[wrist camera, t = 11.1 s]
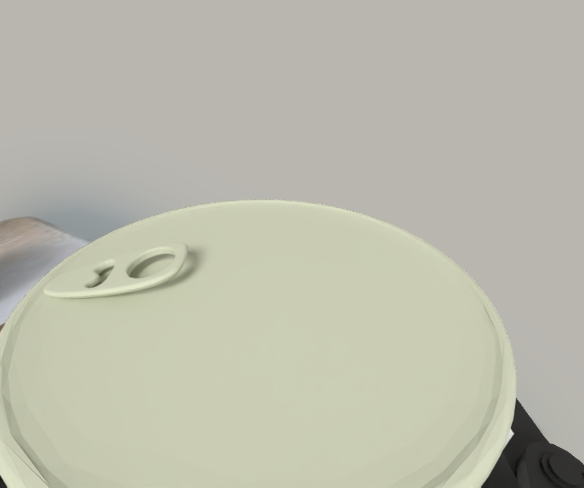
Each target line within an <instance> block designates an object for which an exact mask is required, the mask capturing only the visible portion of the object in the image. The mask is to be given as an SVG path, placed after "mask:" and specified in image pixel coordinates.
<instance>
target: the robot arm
mask: <svg viewBox="0 0 584 488" xmlns="http://www.w3.org/2000/svg"><path fill="white" fill-rule="evenodd" d="M0 488H8V487H7V486H6V484H5V482H4V481H3V479H2V477H1V475H0ZM481 488H584V465H583V463H581V462H580V461H579V460H578V459H576V458H575V457H574V456H573V455H571V454H570V453H569V452H567V451H566V450H564V449H562V448H560V447H558V446H556V445H554V444H550V443H549V442H548V441H547V439H546V438H545V437H544V436H543V434H542V433H541V432H540V430H539V429H538V428H537V426H536V425H535V423H534V422H533V421H532V419H531V418H530V416H529V415H528V414H527V412H526V411H525V409H524V408H523V407H522V405H521V404H520V402H519V401H518V400H517V398H516V402H515V409H514V417H513V421H512V425H511V428H510V431H509V434H508V437H507V440H506V443H505V446H504V448H503V450H502V453H501V455H500V457H499V459H498V461H497V462H496V464H495V466H494V468H493V469H492V471H491V473H490V474H489V476H488V478H487V479H486V480H485V482H484V483H483V484H482V486H481Z"/></svg>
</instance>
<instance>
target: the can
mask: <svg viewBox="0 0 584 488" xmlns="http://www.w3.org/2000/svg"><path fill="white" fill-rule="evenodd" d="M515 402H516V369H515V363H514V357H513V352H512V346H511V343H510V341H509V338H508V336H507V333H506V330H505V328H504V325H503V322H502V321H501V319H500V317H499V315H498V313H497V311H496V309H495V308H494V306H493V304H492V303H491V301H490V300H489V299H488V297H487V296H486V295H485V293H484V292H483V291H482V289H481V288H480V287H479V285H478V284H477V283H476V282H475V281H474V280H473V279H472V278H471V277H470V276H469V275H468V274H467V273H466V272H465V271H464V270H463V269H462V268H461V267H460V266H459V265H458V264H456V263H455V262H454V261H453V260H451V259H450V258H449V257H447V256H446V255H445V254H444V253H442V252H440V251H439V250H438V249H436V248H435V247H433V246H432V245H430V244H429V243H427V242H426V241H424V240H422V239H420V238H419V237H416V236H415V235H413V234H411V233H409V232H407V231H405V230H403V229H401V228H399V227H396V226H394V225H392V224H389V223H387V222H384V221H382V220H379V219H377V218H374V217H370V216H367V215H365V214H361V213H358V212H354V211H350V210H347V209H343V208H338V207H333V206H329V205H323V204H316V203H309V202H300V201H290V200H271V199H257V200H256V199H255V200H234V201H222V202H214V203H207V204H201V205H195V206H190V207H185V208H181V209H176V210H173V211H168V212H165V213H161V214H158V215H155V216H151V217H148V218H145V219H142V220H140V221H137V222H134V223H132V224H129V225H127V226H124V227H122V228H119V229H117V230H115V231H113V232H111V233H109V234H107V235H105V236H102V237H101V238H98V239H96V240H94V241H93V242H91V243H89V244H87V245H86V246H84V247H82V248H81V249H79V250H78V251H76V252H75V253H73V254H72V255H70V256H69V257H67V258H66V259H65V260H63V261H62V262H61V263H59V264H58V265H57V266H55V267H54V268H53V269H52V270H50V271H49V272H48V273H47V274H46V275H45V276H44V277H43V278H41V279H40V280H39V281H38V282H37V283H36V284H35V285H34V286H33V287H32V288H31V289H30V290H29V291H28V292H27V294H26V295H25V296H24V298H23V299H22V300H21V301H20V303H19V304H18V305H17V306H16V308H15V309H14V310H13V311H12V313H11V315H10V316H9V318H8V320H7V322H6V323H5V325H4V327H3V328H2V330H1V332H0V475H1V477H2V479H3V481H4V482H5V484H6V486H7V487H8V488H480V487H481V486H482V484H483V483H484V482H485V480H486V479H487V478H488V476H489V474H490V473H491V471H492V469H493V468H494V466H495V464H496V462H497V461H498V459H499V457H500V455H501V453H502V450H503V448H504V446H505V443H506V440H507V437H508V434H509V431H510V428H511V425H512V421H513V417H514V409H515Z"/></svg>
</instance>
